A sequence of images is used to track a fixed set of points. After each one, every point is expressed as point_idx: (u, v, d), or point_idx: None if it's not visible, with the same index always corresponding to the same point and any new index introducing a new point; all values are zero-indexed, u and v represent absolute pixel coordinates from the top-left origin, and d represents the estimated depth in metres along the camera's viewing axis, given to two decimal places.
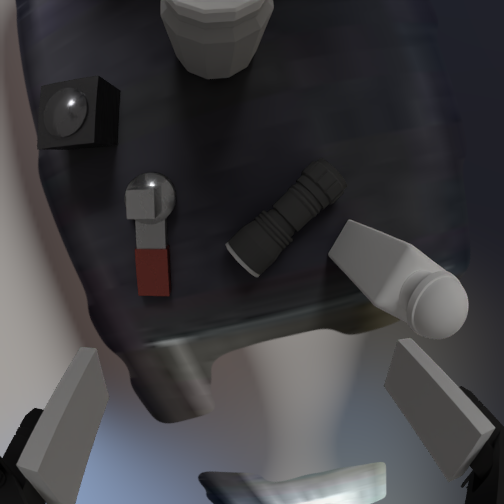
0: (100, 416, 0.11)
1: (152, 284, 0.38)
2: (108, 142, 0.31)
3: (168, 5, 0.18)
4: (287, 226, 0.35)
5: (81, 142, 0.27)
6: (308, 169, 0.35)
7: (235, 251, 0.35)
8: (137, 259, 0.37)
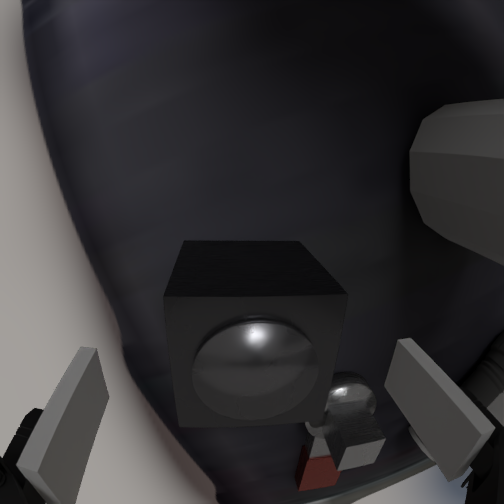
0: (100, 416, 0.11)
1: (319, 481, 0.25)
2: None
3: None
4: None
5: (294, 421, 0.14)
6: None
7: None
8: (307, 467, 0.24)
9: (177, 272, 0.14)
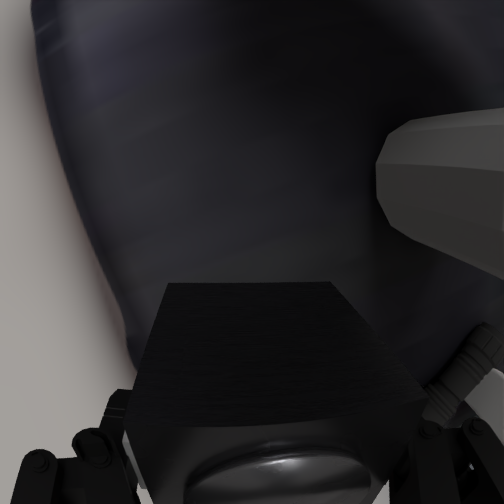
0: None
1: None
2: None
3: None
4: (457, 402, 0.26)
5: None
6: (483, 343, 0.25)
7: None
8: None
9: (151, 357, 0.08)
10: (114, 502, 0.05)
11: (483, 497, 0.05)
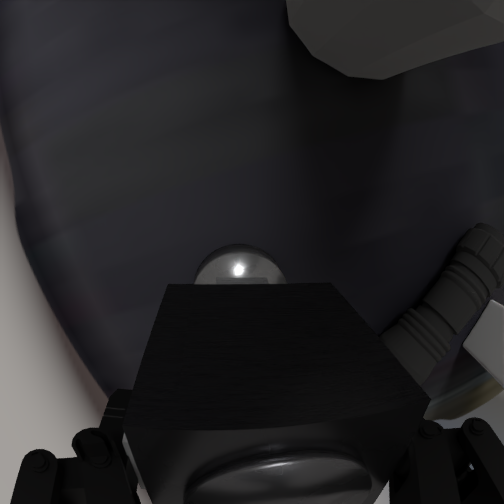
0: None
1: None
2: None
3: None
4: (450, 334, 0.20)
5: None
6: (478, 245, 0.19)
7: None
8: None
9: (150, 359, 0.08)
10: (114, 502, 0.05)
11: (483, 497, 0.05)
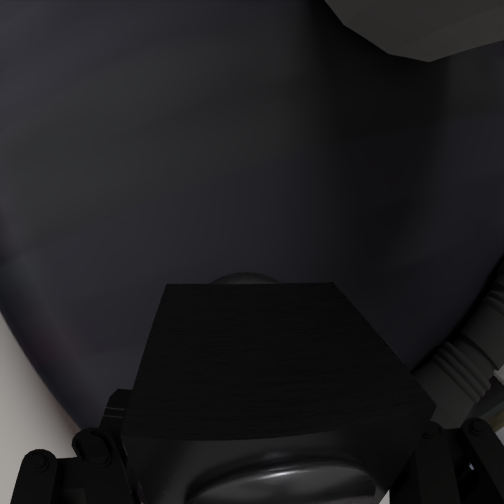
0: None
1: None
2: None
3: None
4: (492, 372, 0.15)
5: None
6: None
7: None
8: None
9: (149, 364, 0.08)
10: (114, 502, 0.05)
11: (483, 497, 0.05)
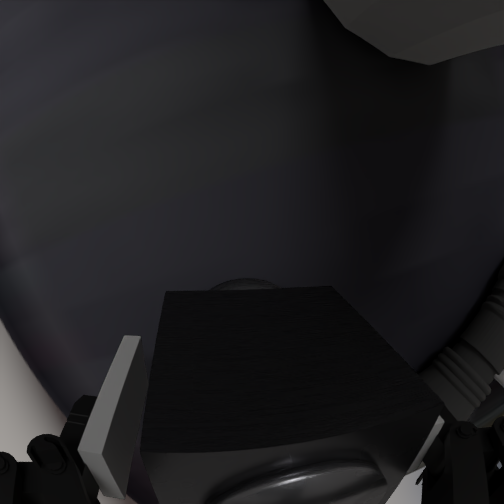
0: (142, 402, 0.12)
1: None
2: None
3: None
4: (492, 376, 0.14)
5: None
6: None
7: None
8: None
9: (159, 375, 0.07)
10: None
11: None
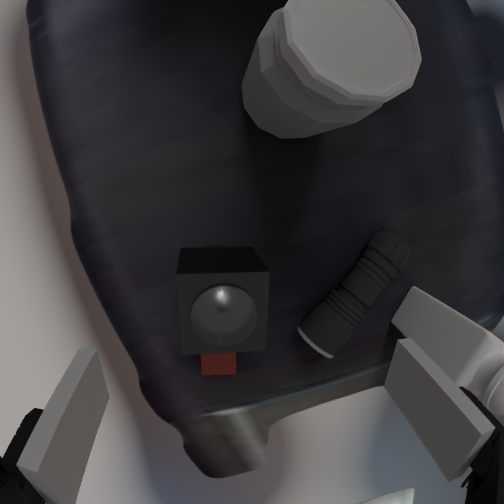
0: (100, 416, 0.11)
1: (218, 364, 0.35)
2: None
3: (282, 65, 0.16)
4: (361, 305, 0.33)
5: (249, 350, 0.26)
6: (377, 243, 0.32)
7: (312, 340, 0.33)
8: None
9: (180, 264, 0.26)
10: None
11: None
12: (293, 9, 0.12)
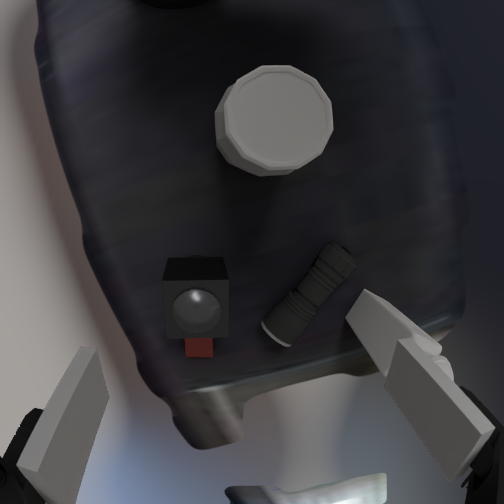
0: (100, 416, 0.11)
1: (198, 348, 0.44)
2: None
3: (228, 139, 0.24)
4: (311, 305, 0.42)
5: (216, 336, 0.35)
6: (324, 254, 0.41)
7: (271, 331, 0.42)
8: None
9: (166, 272, 0.35)
10: None
11: None
12: (231, 104, 0.21)
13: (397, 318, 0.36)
